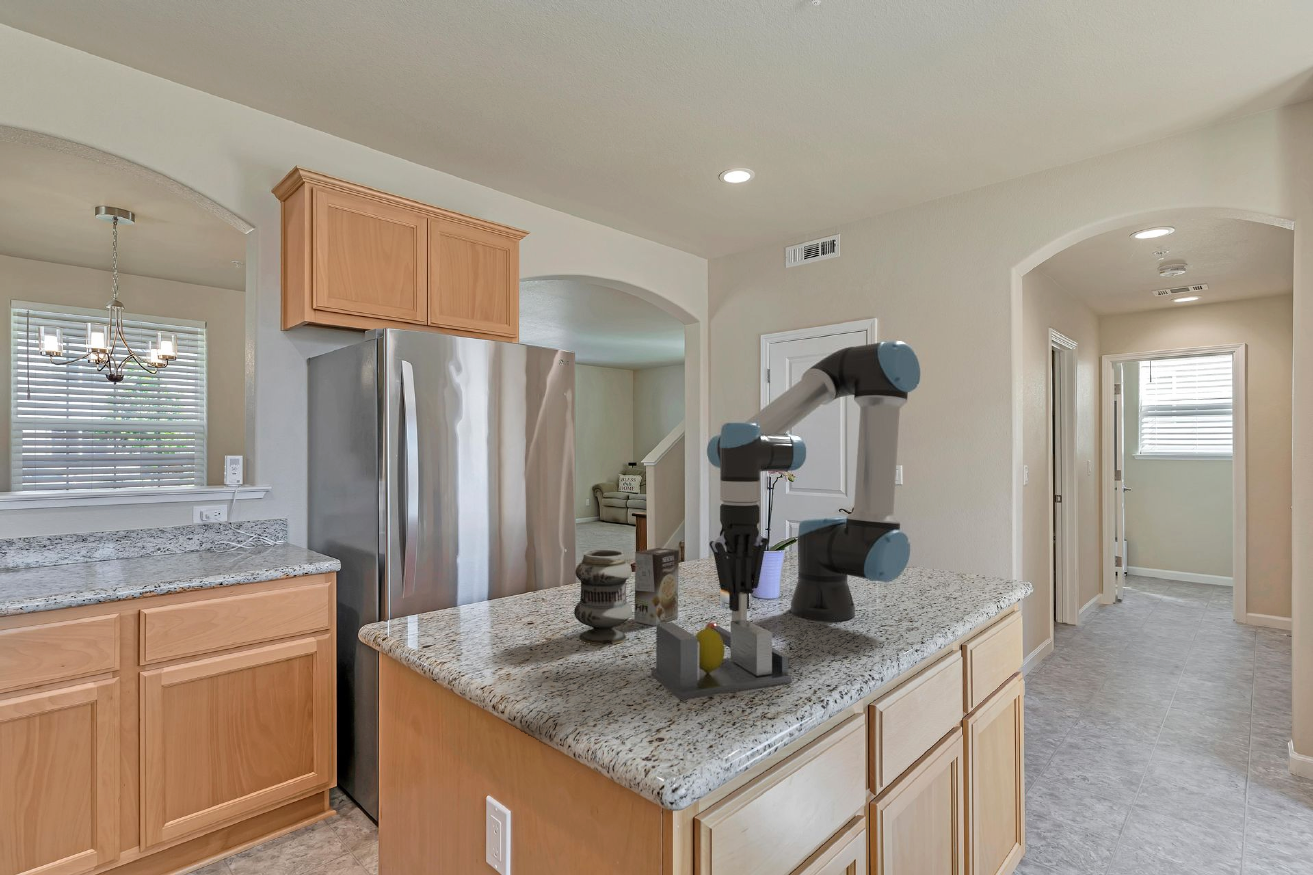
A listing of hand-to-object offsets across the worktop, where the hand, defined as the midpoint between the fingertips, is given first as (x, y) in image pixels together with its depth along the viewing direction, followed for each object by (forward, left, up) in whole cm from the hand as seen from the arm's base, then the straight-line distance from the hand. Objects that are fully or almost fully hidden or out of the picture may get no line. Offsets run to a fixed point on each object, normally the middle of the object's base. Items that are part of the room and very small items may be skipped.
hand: (739, 627), depth 123 cm
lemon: (+11, +8, -5) cm, 15 cm away
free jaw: (+3, +3, -5) cm, 6 cm away
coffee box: (+4, -31, -6) cm, 32 cm away
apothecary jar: (+20, -22, -6) cm, 30 cm away
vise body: (+9, +8, -6) cm, 13 cm away
